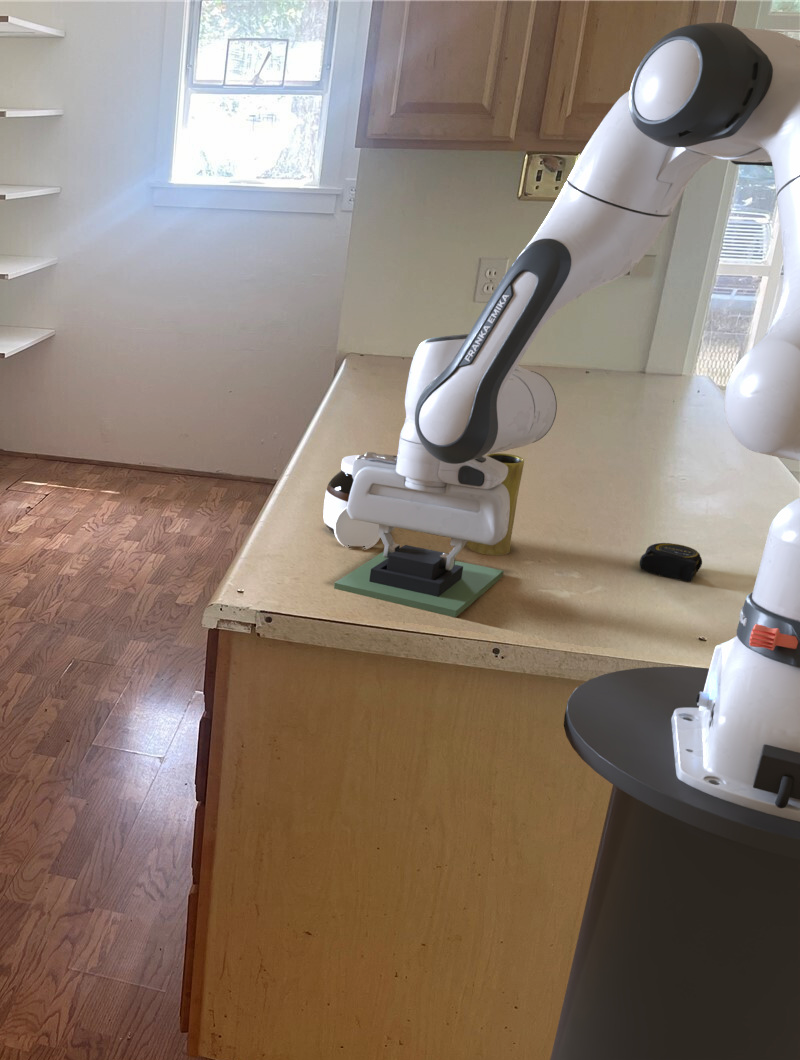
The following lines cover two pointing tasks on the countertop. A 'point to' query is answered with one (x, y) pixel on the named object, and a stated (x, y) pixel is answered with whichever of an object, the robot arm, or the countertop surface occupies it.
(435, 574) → the plug
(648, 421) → the countertop surface
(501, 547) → the vase
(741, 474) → the countertop surface
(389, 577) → the socket mat
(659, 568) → the tape measure
